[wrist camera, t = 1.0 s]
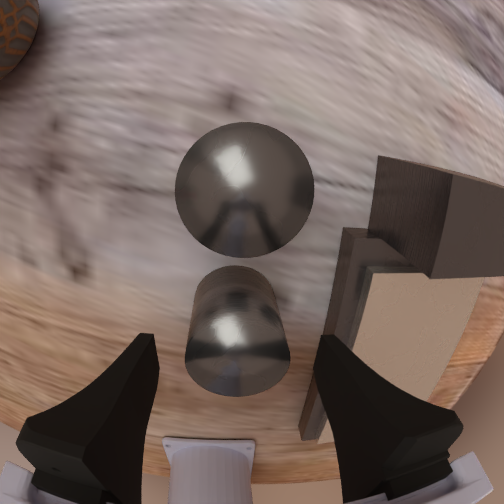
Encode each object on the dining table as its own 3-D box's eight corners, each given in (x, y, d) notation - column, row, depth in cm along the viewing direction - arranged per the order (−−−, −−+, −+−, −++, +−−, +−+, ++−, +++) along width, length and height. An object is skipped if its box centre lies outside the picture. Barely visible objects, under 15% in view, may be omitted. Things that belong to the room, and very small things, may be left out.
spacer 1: (282, 218, 15) (306, 258, 10) (192, 215, 14) (176, 256, 10) (288, 129, 13) (319, 128, 9) (194, 125, 13) (176, 121, 8)
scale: (408, 406, 23) (432, 453, 17) (298, 425, 22) (311, 485, 16) (490, 181, 15) (555, 206, 9) (352, 151, 14) (422, 167, 8)
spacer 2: (270, 332, 17) (283, 395, 13) (196, 332, 17) (189, 395, 12) (277, 266, 16) (297, 321, 11) (193, 264, 15) (180, 320, 11)
